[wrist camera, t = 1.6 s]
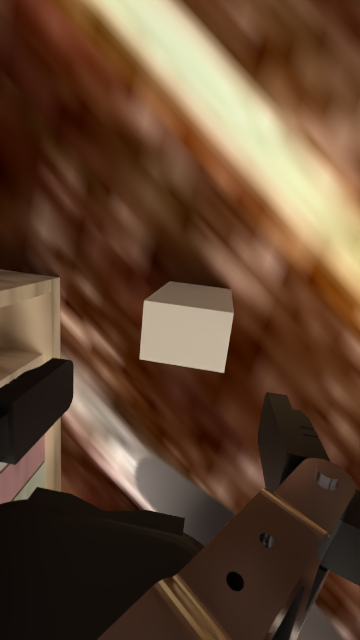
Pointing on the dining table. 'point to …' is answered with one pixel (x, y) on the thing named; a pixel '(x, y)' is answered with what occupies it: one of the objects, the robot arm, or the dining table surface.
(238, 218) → the dining table surface
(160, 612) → the robot arm
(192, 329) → the cream block
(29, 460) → the pastel slab stack
